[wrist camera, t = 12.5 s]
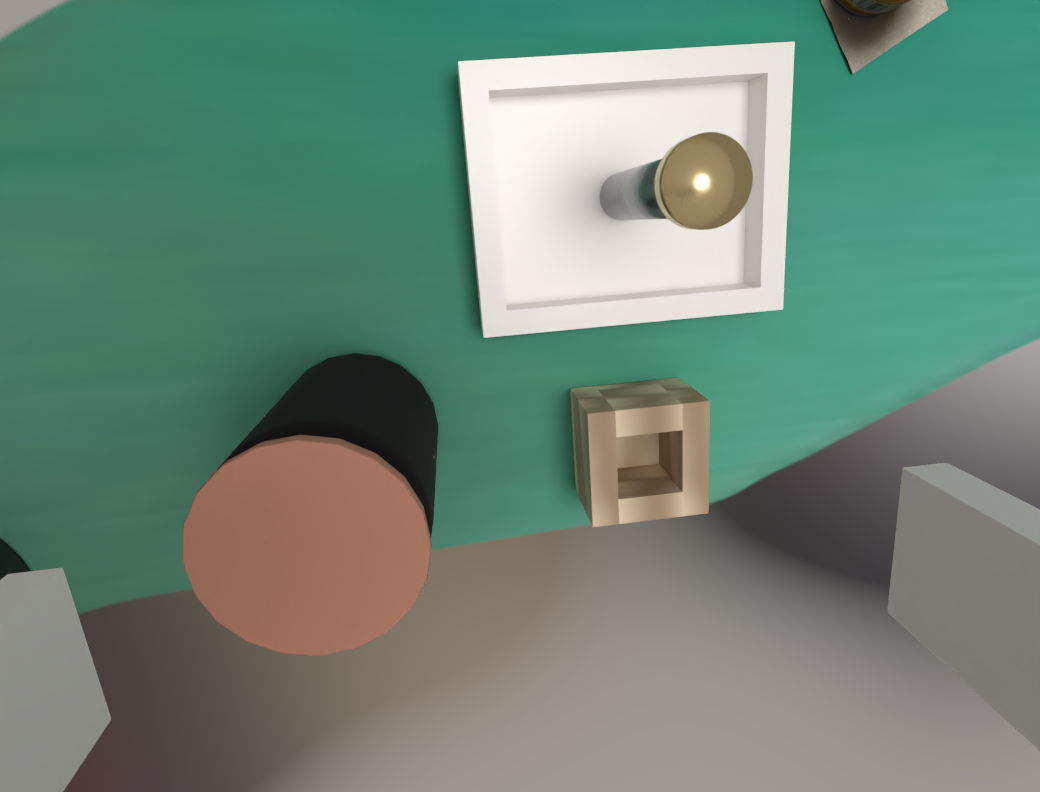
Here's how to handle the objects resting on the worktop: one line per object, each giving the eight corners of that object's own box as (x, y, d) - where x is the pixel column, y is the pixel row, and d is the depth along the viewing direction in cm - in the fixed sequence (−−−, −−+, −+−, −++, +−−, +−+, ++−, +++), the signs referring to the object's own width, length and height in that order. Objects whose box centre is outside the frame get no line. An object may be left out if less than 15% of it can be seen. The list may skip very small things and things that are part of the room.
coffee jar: (354, 519, 47) (298, 697, 30) (251, 411, 44) (123, 540, 27) (468, 434, 46) (479, 567, 29) (371, 318, 43) (320, 389, 26)
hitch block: (575, 489, 48) (592, 527, 42) (570, 388, 46) (587, 413, 40) (678, 477, 49) (708, 513, 43) (677, 377, 46) (709, 400, 41)
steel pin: (593, 230, 42) (663, 232, 28) (590, 166, 41) (662, 135, 27) (652, 225, 42) (751, 226, 28) (651, 162, 41) (753, 128, 27)
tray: (481, 328, 44) (483, 337, 40) (457, 74, 39) (458, 61, 36) (758, 302, 45) (782, 309, 42) (766, 55, 41) (794, 41, 38)
